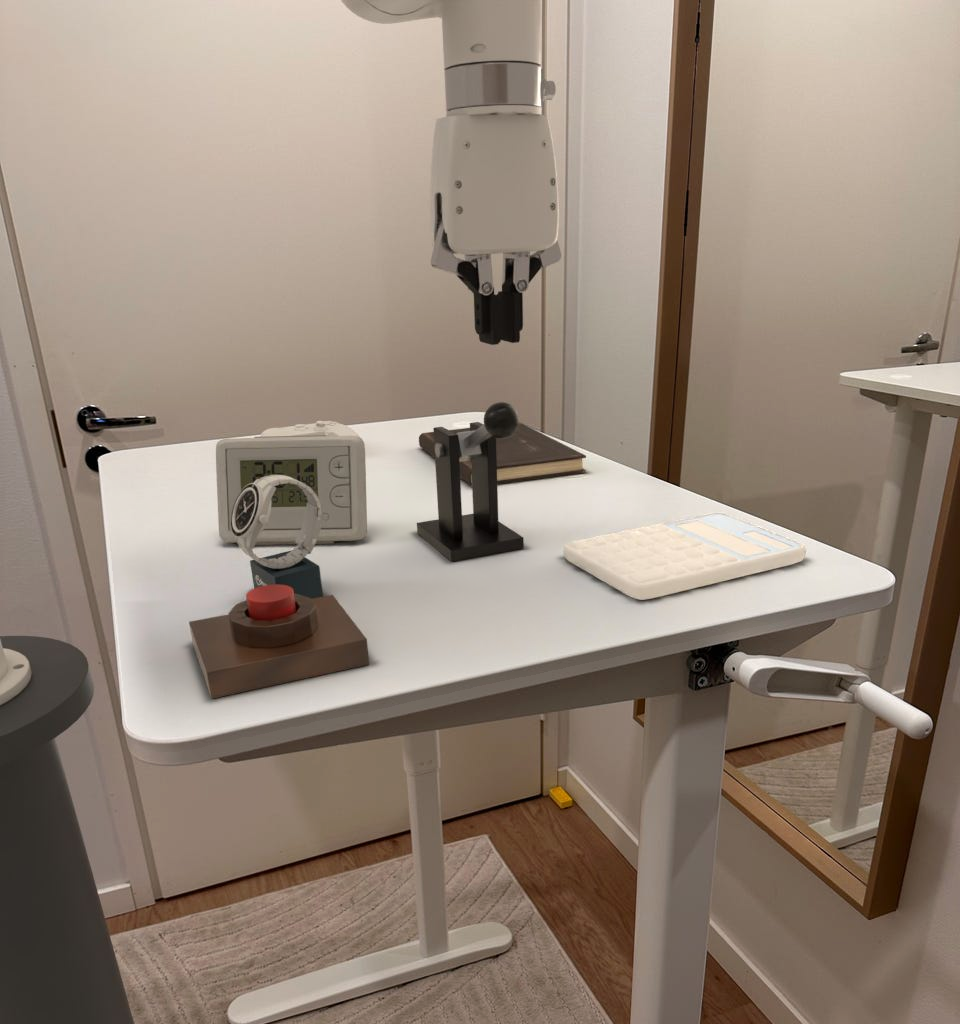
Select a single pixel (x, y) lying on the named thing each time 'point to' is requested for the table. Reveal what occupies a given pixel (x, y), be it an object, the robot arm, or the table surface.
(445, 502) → the bracket
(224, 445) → the digital clock
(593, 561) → the calculator
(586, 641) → the table surface
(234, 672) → the button block
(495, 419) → the lever
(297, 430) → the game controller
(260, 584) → the watch
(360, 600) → the table surface
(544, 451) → the hardcover book
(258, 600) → the button
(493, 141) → the robot arm
